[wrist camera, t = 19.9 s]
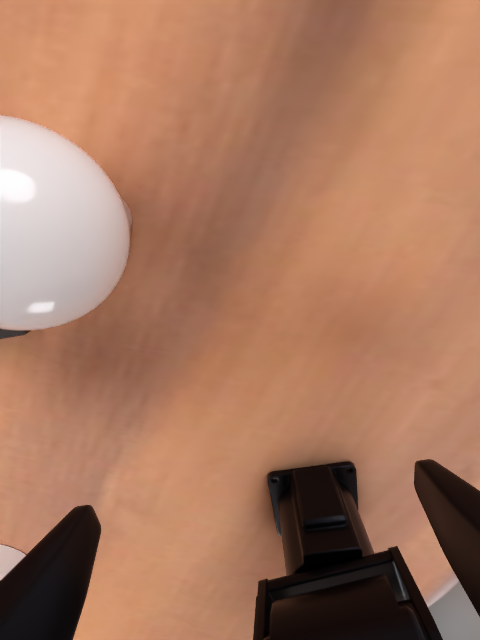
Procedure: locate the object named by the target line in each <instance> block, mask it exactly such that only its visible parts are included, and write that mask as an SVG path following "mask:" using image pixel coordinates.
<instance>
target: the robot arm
mask: <svg viewBox="0 0 480 640" xmlns="http://www.w3.org/2000/svg"><path fill="white" fill-rule="evenodd" d="M349 468H350V469H349ZM274 478H276V479H274ZM268 485H269V490H270V495H271V501H272V506H273V511H274V517H275V522H276V528H277V533H278V534H279V535H280V536H282V542H283V550H284V557H285V565H286V573H287V576H284V577H280V578H276V579H272V580H268V579H265V580H261V581H259V582H258V596H257V597H256V608H255V622H254V635H253V640H443V639H442V637H441V634H440V632H439V630H438V628H437V626H436V624H435V621H434V619H433V617H432V615H431V613H430V611H429V609H428V607H427V605H426V603H425V601H424V599H423V597H422V595H421V593H420V591H419V589H418V587H417V585H416V583H415V581H414V579H413V577H412V575H411V573H410V571H409V569H408V567H407V565H406V563H405V561H404V559H403V557H402V555H401V553H400V551H399V549H398V547H397V546H395V547H391V548H388V550H387V551H383V552H379V553H375V554H374V551H373V549H372V546H371V543H370V541H369V538H368V536H367V533H366V530H365V528H364V525H363V522H362V520H361V517H360V515H359V512H358V497H357V478H356V468H355V466H354V464H353V463H352V462H340V463H333V464H326V465H318V466H311V467H304V468H296V469H289V470H281V471H274V472H271V473H269V474H268ZM414 486H415V490H416V493H417V495H418V497H419V500H420V502H421V504H422V506H423V508H424V511H425V513H426V515H427V517H428V519H429V522H430V524H431V526H432V528H433V530H434V533H435V535H436V537H437V539H438V541H439V544H440V546H441V548H442V550H443V552H444V554H445V556H446V558H447V560H448V562H449V564H450V565H451V567H452V569H453V571H454V572H455V574H456V576H457V578H458V579H459V581H460V583H461V585H462V587H463V588H464V590H465V591H466V594H467V595H468V597H469V599H470V601H471V602H472V604H473V606H474V608H475V609H476V611H477V613H478V615H479V616H480V491H479V490H478V489H476V488H475V487H473V486H472V485H470V484H469V483H467V482H466V481H464V480H463V479H461V478H460V477H458V476H457V475H455V474H454V473H452V472H451V471H449V470H448V469H446V468H445V467H443V466H442V465H440V464H439V463H437V462H436V461H434V460H431V459H427V460H420V461H416V463H415V472H414ZM100 534H101V525H100V522H99V520H98V518H97V516H96V513H95V511H94V509H93V507H92V506H90V505H83V506H77V507H75V508H74V509H73V510H71V511H70V512H69V513H68V514H67V515H66V516H65V517H64V518H63V519H62V520H61V521H60V522H59V523H58V524H57V525H56V526H55V527H54V528H53V529H52V530H51V531H50V532H49V533H48V534H47V535H46V536H45V537H44V538H43V539H42V540H41V541H40V542H39V543H38V544H37V545H36V546H35V547H34V548H33V549H32V550H31V551H30V552H29V553H28V554H27V555H26V556H25V557H24V558H23V559H22V560H21V561H20V562H19V563H18V564H17V565H16V566H15V567H14V568H13V569H12V570H11V571H10V572H9V573H8V574H7V575H6V576H5V577H4V578H3V579H2V580H0V640H73V637H74V634H75V631H76V628H77V624H78V621H79V618H80V615H81V612H82V609H83V605H84V602H85V599H86V595H87V591H88V587H89V583H90V578H91V574H92V570H93V565H94V561H95V556H96V552H97V548H98V543H99V539H100Z"/></svg>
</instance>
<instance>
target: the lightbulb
mask: <svg viewBox="0 0 480 640" xmlns="http://www.w3.org/2000/svg"><path fill="white" fill-rule="evenodd" d="M131 225H132V215H131V211H130V209H129V207H128V205H127V203H126V202H125V201H124V200H123V199H122V198H121V197H120V195H119V193H118V191H117V189H116V188H115V186H114V184H113V183H112V181H111V180H110V178H109V177H108V175H107V174H106V173H105V171H104V170H103V169H102V168H101V167H100V166H99V164H98V163H97V162H96V161H95V160H94V159H93V158H92V157H91V156H90V155H88V154H87V153H86V152H85V151H84V150H83V149H81V148H80V147H79V146H77V145H76V144H75V143H73V142H72V141H70V140H69V139H67V138H66V137H64V136H62V135H60V134H59V133H57V132H55V131H53V130H51V129H49V128H47V127H44V126H42V125H39V124H37V123H34V122H31V121H28V120H24V119H20V118H16V117H11V116H5V115H0V329H6V330H40V329H47V328H52V327H56V326H60V325H64V324H66V323H69V322H72V321H74V320H76V319H78V318H81V317H82V316H84V315H86V314H88V313H89V312H91V311H92V310H94V309H95V308H96V307H98V306H99V305H100V304H101V303H102V302H103V301H104V300H105V299H106V298H107V297H108V296H109V295H110V294H111V293H112V291H113V290H114V289H115V287H116V286H117V284H118V282H119V281H120V279H121V277H122V275H123V272H124V270H125V267H126V264H127V261H128V256H129V250H130V229H131Z"/></svg>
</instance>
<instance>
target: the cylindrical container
mask: <svg viewBox="0 0 480 640" xmlns="http://www.w3.org/2000/svg"><path fill="white" fill-rule="evenodd" d="M25 556H26V555H25V554H24V553H22V552H20V551H19V550H16V549H14V548H12V547H8V546H5V545H1V544H0V580H2V579H3V578H4V577H5V576H6V575H7V574H8V573H9V572H10V571H11V570H12V569H13V568H14V567H15V566H16V565H17V564H18V563H19V562H20V561H21V560H22V559H23V558H24V557H25Z"/></svg>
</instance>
